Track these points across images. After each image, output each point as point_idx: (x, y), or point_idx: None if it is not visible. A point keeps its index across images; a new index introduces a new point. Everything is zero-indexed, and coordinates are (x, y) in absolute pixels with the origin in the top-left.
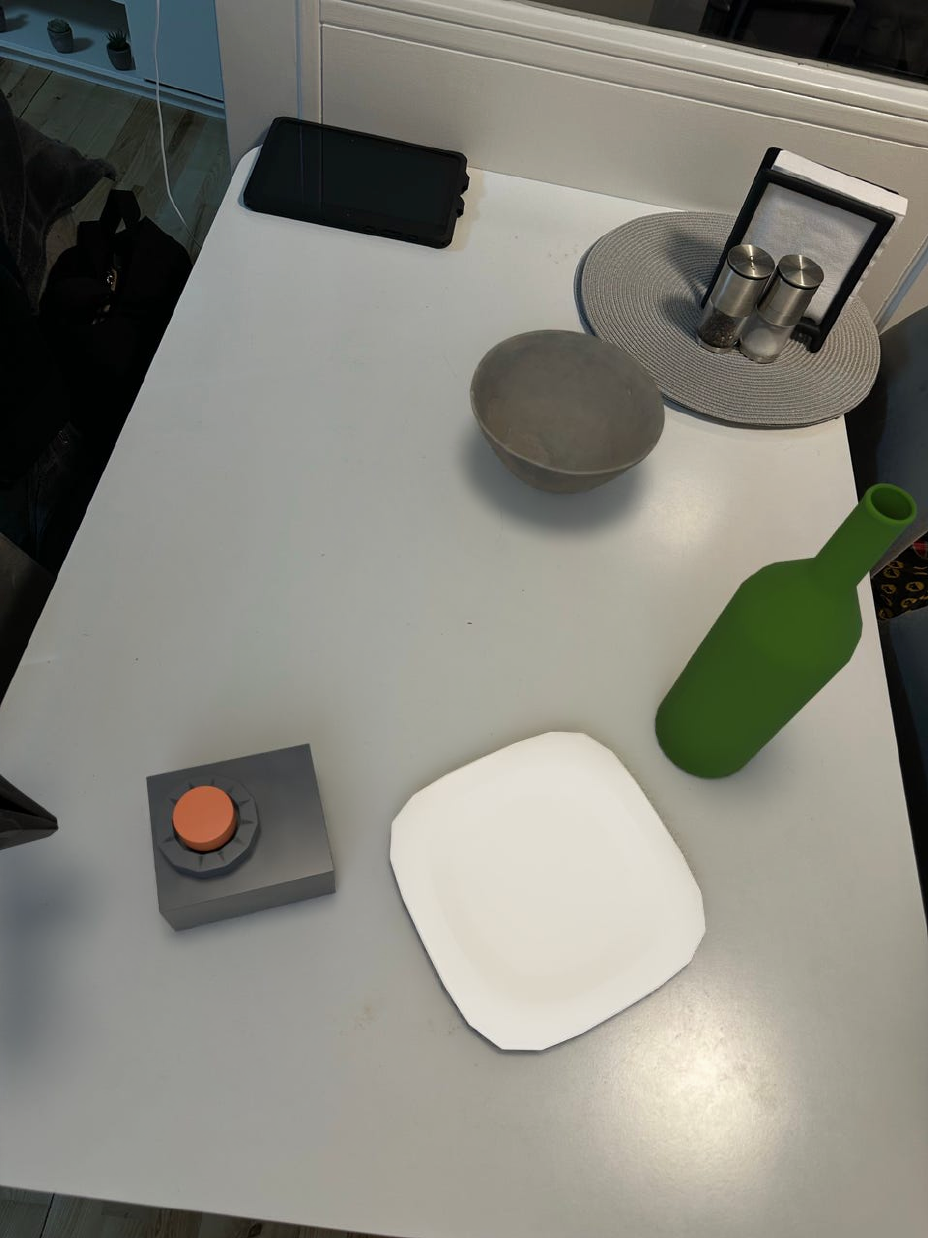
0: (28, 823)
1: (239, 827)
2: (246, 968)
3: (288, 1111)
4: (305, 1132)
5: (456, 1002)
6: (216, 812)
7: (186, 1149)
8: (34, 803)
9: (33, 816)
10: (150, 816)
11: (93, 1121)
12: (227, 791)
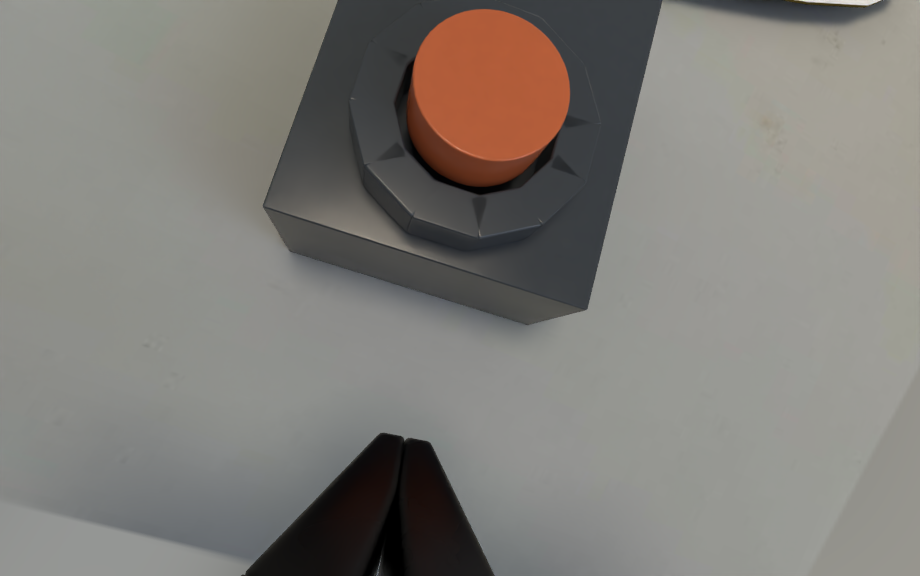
0: (463, 570)
1: None
2: (635, 248)
3: (834, 285)
4: (865, 276)
5: (837, 1)
6: (507, 53)
7: (819, 433)
8: (329, 503)
9: (408, 529)
10: (368, 239)
11: (732, 547)
12: None
